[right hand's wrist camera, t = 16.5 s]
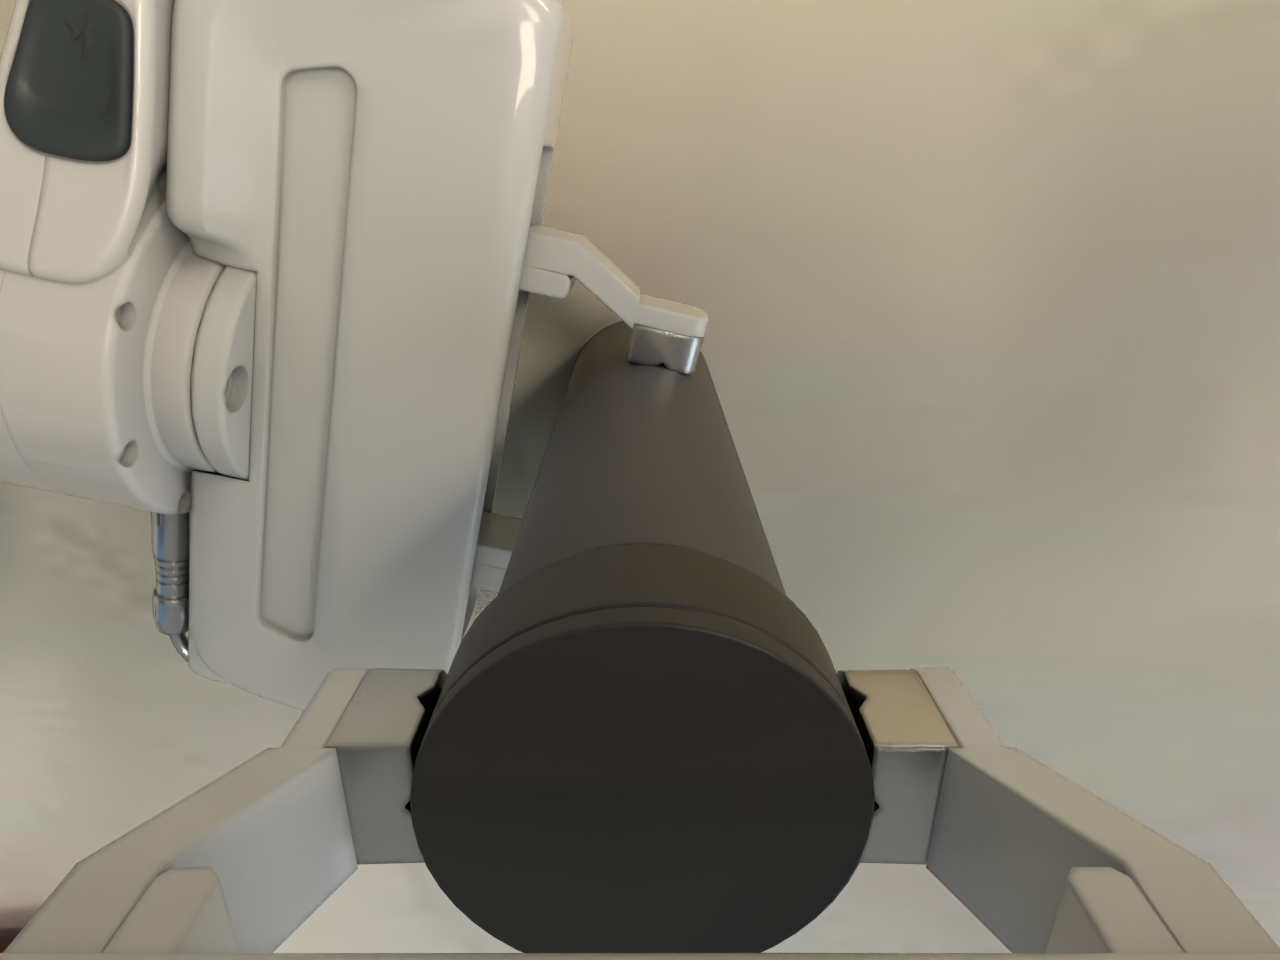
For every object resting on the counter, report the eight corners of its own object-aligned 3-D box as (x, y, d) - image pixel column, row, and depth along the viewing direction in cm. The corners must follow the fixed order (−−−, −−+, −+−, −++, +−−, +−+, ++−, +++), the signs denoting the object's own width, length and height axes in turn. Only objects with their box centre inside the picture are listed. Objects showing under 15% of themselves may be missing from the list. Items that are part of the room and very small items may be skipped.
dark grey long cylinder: (659, 289, 25) (696, 532, 8) (736, 404, 26) (903, 808, 10) (543, 371, 26) (368, 734, 9) (624, 477, 27) (600, 957, 11)
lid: (364, 690, 10) (309, 793, 9) (678, 460, 9) (687, 527, 7) (614, 911, 12) (610, 1033, 10) (910, 741, 11) (962, 848, 9)
